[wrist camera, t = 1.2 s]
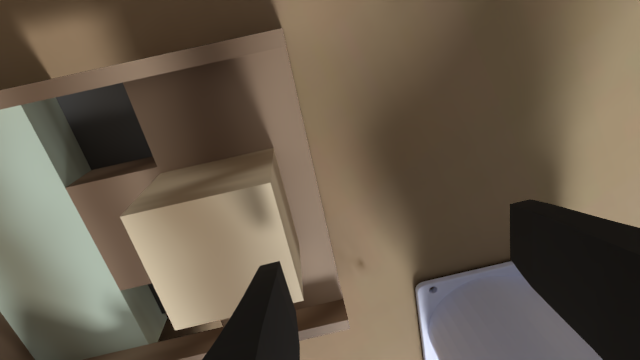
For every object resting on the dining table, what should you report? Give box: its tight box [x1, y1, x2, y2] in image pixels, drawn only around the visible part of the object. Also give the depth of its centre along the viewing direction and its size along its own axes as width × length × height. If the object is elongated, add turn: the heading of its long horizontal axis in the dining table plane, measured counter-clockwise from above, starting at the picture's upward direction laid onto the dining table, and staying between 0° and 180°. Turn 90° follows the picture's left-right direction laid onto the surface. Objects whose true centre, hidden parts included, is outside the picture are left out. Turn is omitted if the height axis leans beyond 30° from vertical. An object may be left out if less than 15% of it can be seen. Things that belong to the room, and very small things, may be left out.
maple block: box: [120, 148, 304, 330], centre depth 14 cm, size 5×5×4 cm
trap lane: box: [0, 28, 350, 360], centre depth 16 cm, size 17×14×4 cm
